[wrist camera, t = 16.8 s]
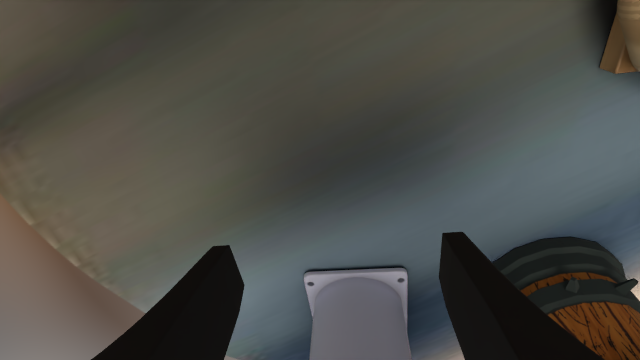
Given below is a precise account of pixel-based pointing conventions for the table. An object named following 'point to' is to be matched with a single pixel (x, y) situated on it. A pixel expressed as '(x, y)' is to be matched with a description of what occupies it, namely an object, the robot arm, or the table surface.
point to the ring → (630, 28)
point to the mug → (579, 292)
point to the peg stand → (616, 52)
